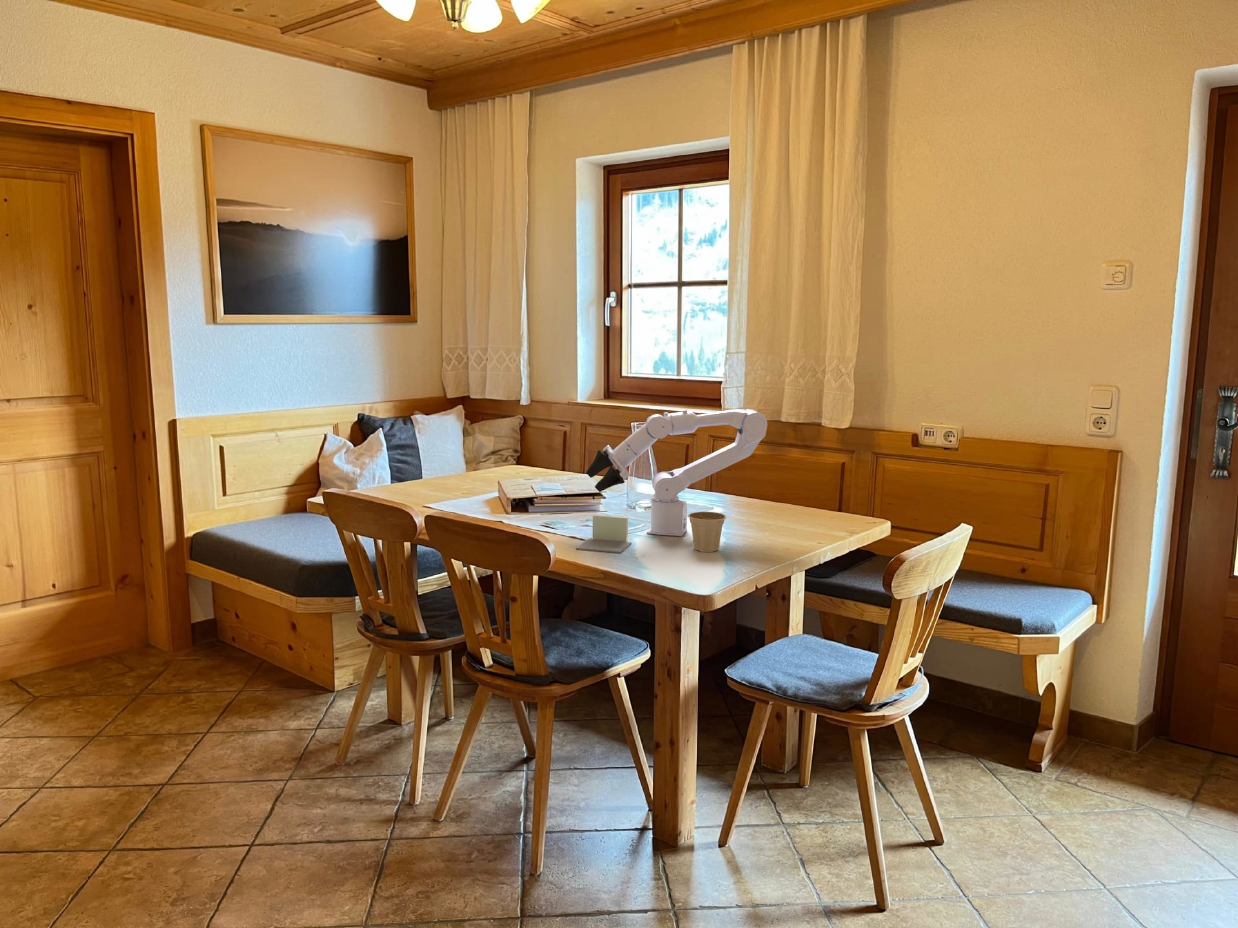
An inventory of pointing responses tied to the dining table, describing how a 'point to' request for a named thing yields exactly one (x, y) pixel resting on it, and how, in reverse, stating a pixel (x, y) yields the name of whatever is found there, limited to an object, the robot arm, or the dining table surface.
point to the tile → (610, 528)
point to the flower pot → (706, 530)
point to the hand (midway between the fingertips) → (592, 482)
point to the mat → (604, 545)
